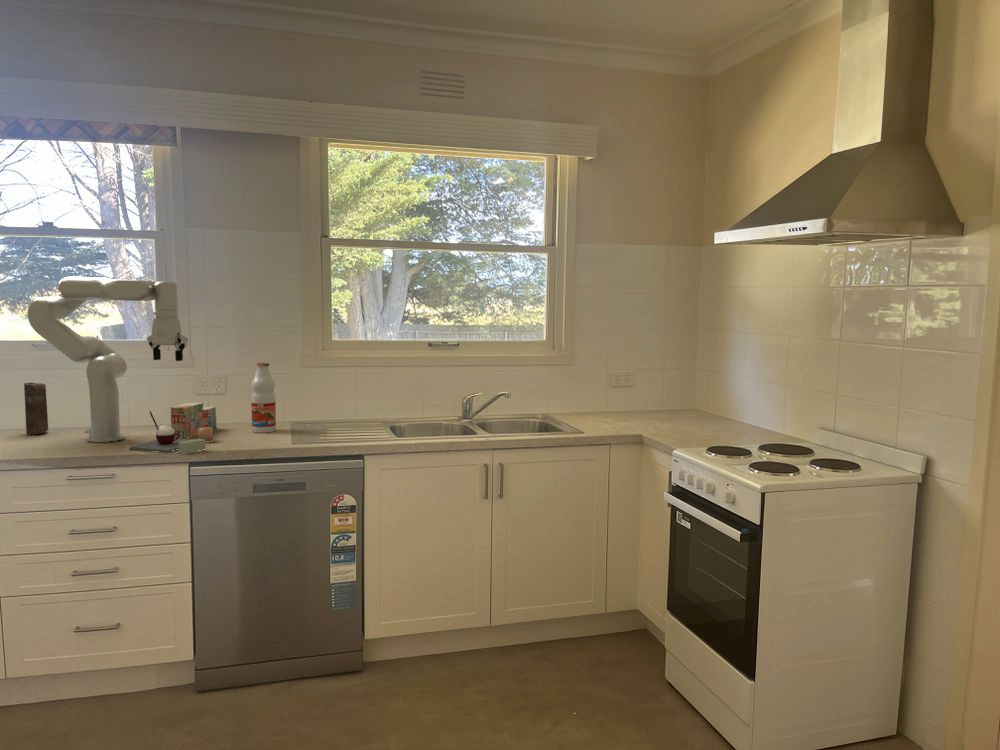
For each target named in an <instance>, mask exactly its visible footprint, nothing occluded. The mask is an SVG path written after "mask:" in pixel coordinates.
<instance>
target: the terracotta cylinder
mask: <svg viewBox="0 0 1000 750" xmlns="http://www.w3.org/2000/svg"><path fill="white" fill-rule="evenodd" d="M213 432H214V431H213V428H212V427H201V428H198V435H197V436H198V439H199V438H200V439H204V440H206V441H211V440H213V441H214V437H213V436H214V433H213Z"/></svg>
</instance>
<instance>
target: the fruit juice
mask: <svg viewBox="0 0 1000 750" xmlns="http://www.w3.org/2000/svg"><path fill="white" fill-rule="evenodd" d="M255 365H256V371H255V375H254V377H253V379H252V380H251V383H250V384H251V385H250V386H251V390H252V394H251V395H250V396H251V400H250V401H251V402H250V404H251V406H250V407H251V431H252V432H253V433H256V432H257V433H258V434H268V433H267V432H269V433H272V432H273V433H274V432H275V431H276V429H277V421H276V420H277V418H276V417H277V413H276V412H277V411H276V403H277V401H276V394H275V388H276V384H275V380H274V379H273V376H272V374H271V372H270V369H269V367H270V363H269V362H257V363H256V364H255Z"/></svg>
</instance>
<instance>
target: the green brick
mask: <svg viewBox="0 0 1000 750" xmlns="http://www.w3.org/2000/svg"><path fill="white" fill-rule="evenodd" d="M203 449H206V450H207V442H206V440H204V439H200V438H199V437H198V438H193V439H187V440H186V441H180V442H178V450H177V451H178V453H179V452H180V454H185V455H187V454H192V453H193V454H194V453H197V452H196V451H198V450H203Z"/></svg>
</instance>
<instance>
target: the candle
mask: <svg viewBox="0 0 1000 750" xmlns="http://www.w3.org/2000/svg"><path fill="white" fill-rule="evenodd" d="M23 390H24V391H23V393H24V408H25V409H24V411H25V433H26V435H27V436H34V435H37V434H38V435H40V434H44V433H47V432H48V431H49V417H48V404H47V385H46V384H45V383H42V382H40V383H39V382H36V383H35V382H24V384H23Z"/></svg>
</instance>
